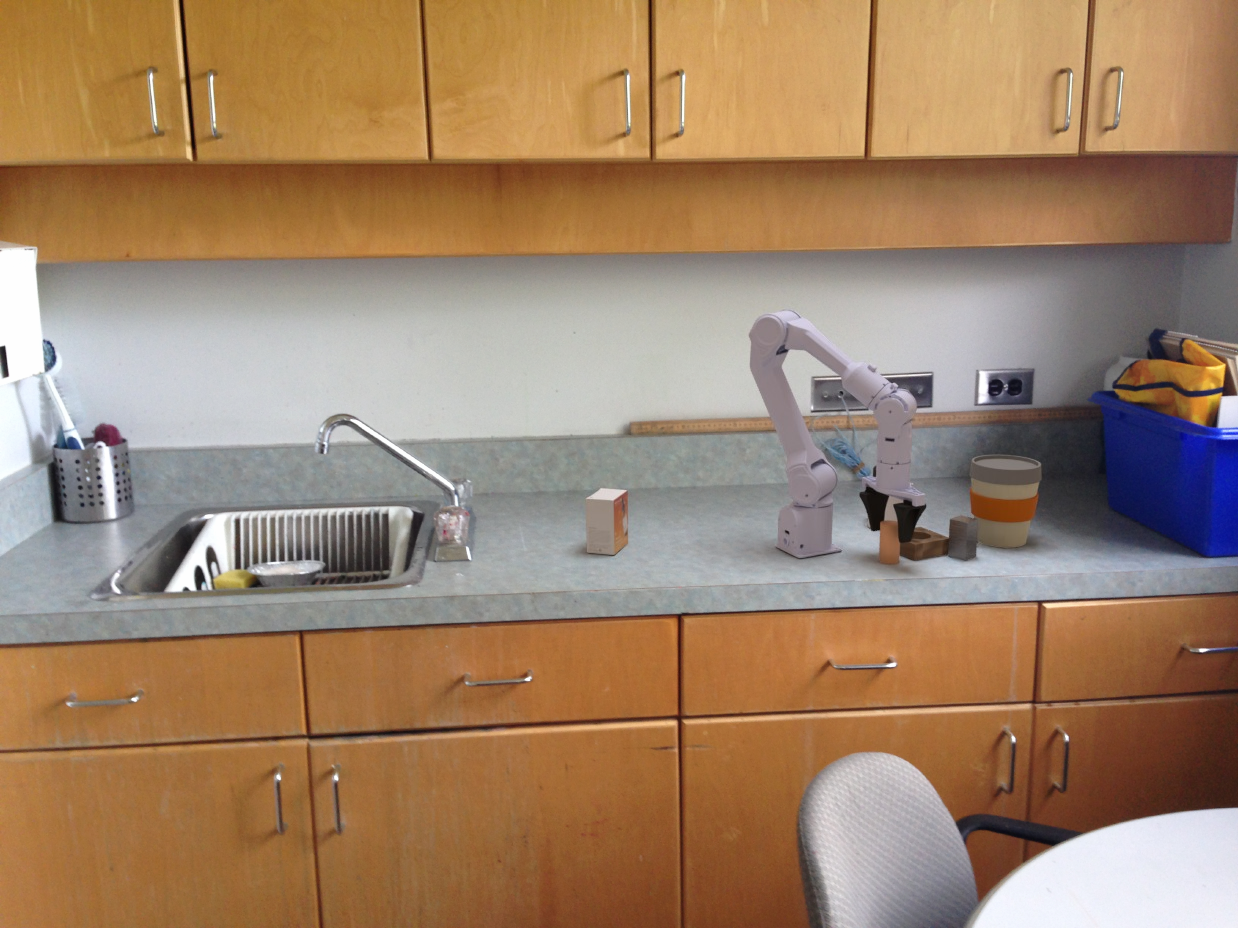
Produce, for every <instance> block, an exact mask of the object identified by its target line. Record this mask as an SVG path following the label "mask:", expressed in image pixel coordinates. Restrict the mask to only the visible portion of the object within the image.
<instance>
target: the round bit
mask: <svg viewBox="0 0 1238 928" xmlns="http://www.w3.org/2000/svg"><path fill="white" fill-rule="evenodd" d="M878 544H879V547H878V551H879V552H878V562H879V563H881V564H883V565H884V564H885V565H897V564H899V563H900V556H901V555H900V542H899V539H898V522H897V521H892V520H886V521H882V522H880V531H879V543H878Z"/></svg>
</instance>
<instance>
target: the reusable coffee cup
mask: <svg viewBox="0 0 1238 928" xmlns="http://www.w3.org/2000/svg"><path fill="white" fill-rule="evenodd" d="M968 476H969V477H970V480H971V487H970V488H969V499H970V501H969V502H970V513H971V514H972V515H973V518H976V519H979V521H978V536H977V543H980V544H982V545H985V546H988V547H989V546H990V547H997V548H1008V549H1009V548H1018V547H1022V546H1024V545H1026V544H1027V539H1028V534H1029V529H1030V525H1031V521H1032V520H1033V519H1034V517H1035V515H1036V514H1035V513H1036V510H1037V509H1036V508H1037V504H1038V500H1039V497H1040V495H1039V492H1038V489H1039V485H1040V482H1041V481H1042V479H1043V478H1042V463H1041V462H1040V461H1038V460H1036V459H1034V458H1030V457H1026V456H1018V455H1010V454H985V455H978V456H974V457H973V458H971V462H970V467H969V473H968Z"/></svg>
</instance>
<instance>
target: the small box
mask: <svg viewBox="0 0 1238 928" xmlns="http://www.w3.org/2000/svg"><path fill="white" fill-rule="evenodd" d="M628 494H629V493H628V490H626V489H616V488H604V487H601V488H599V489H598V490H596V491H595V492H594V493H592V494H591V495H590V496H588V497H585V529H586V530H585V531H586V534H585V535H586V553H587V554H599V555H608V556H609V555H610V556H615V555H616V554H617V553H618V552H619V551H620V550H621V549H623V548H624V547H626V546H627V545H628V544H629V503H628V502H629V500H628V499H629V498H628V496H629V495H628Z"/></svg>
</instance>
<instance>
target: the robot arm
mask: <svg viewBox="0 0 1238 928" xmlns="http://www.w3.org/2000/svg"><path fill="white" fill-rule="evenodd" d="M748 338H749V340H750V355H749V356H750V357H749V369H750V372H751V374H752V377H753V379H754V381H755V384H756V387H757V389H758V391H759V394H760V396H761V398H762V401H763V403H764V406H765V407H766V410H767V413H768V414H769V418H770V421H771V423H772V424H773V427H774V429H775V431H776V434H777V436H778V438H779V441H780V443H781V446H782V448H783V450H784V453H785V456H786V463H785V464H786V465H785V470H784V471H785V474H786V477H787V479H788V482H787V483H788V484H787V489H788V493H789V496H790V497H791V499H792V502H791V503H790V504H788V505H784V506H782V508H781V509H780V510H779V513H778V518H777V521H778V523H777V543H775V547H776V548H778V549H779V550H782V551H783V552H786V553H787V554H789V555H792V556H793V557H796V558H798V559H804V558H810V557H814V556H820V555H825V554H831V553H836V552H841V551H842V550H843V548H842V547H840V546H838V545H836V544H833V519H834V518H833V517H834V499H833V492H834V491H835V490H836V488H837V486H838V484H839V474H838V472H837V470H836V468H835V467H834V466H833V465H832V464H831V463H830V462H829V461H828V460H827V458H826V455H825V453H824V452H823V451H822V450H821V449H819V448H818V447H817V446H816V445H815V443H814V441H813V438H812V436H811V434H810V432H809V428H808V426H807V424H806V422H805V420H804V417H803V414H802V413H801V410H800V408H799V405H798V403H797V401H796V398H795V396H794V393H793V392H792V389H791V386H790V383H789V381H788V379H787V376H786V374H785V372H784V370H783V364H784V362H785V361H786V358H787V355H788V353H789V352H790V350H793V351H805V352H806V353H808V354H809V355H810V356H812V357H814V358H815V359H816V360H817V361H819V362H820V363H821V364H823V365H824V366H826V368H828V369H830V370H831V371H832V372H834V373H835V374H837V375H838V376H839V377H840V380H841V383H842V384H841V386H842V389H844V390H845V391H847V393H849V394H850V395H852V397H854V398H855V399H856V400H857V401H858V402H860V403H861V404H863V405H864V406H865V407H866V408H867V409H869V410H870V411H872V413H873V417H874V420H875V421H876V423H877V424H878V426H877V427H878V429H877V441H876V443H877V444H876V465H875V466H876V477H873V475H869V476H863V477H861V488H863V489H864V491H860V492H859V494H858V496H859V498H860V499H861V502H862V504H863V506H864V508H865V511H866V514H867V520H868V519H869V524H870V528H869V529H870V531H871V532H878V531H879V532H880V522H882V521H884V518H885V510H886V505H887V502H888V499H889V496H892V497H895V498H898V499H900V500H903V503H897V504H893V507H894V510H895V512H896V516H897V522H898V539H899V542H900V543H906V542H911V539H912V536H913V533H914V530H915V527H917V523H918V522H919V521H920V518H921V516H922V514H923V513H924V511H926V509H927V503H926V493H923V492H921V491H919V490H918V489H916V488H915V487H914V482H911V461H912V445H913V444H912V443H913V440H912V439H913V435H912V434H913V433H912V431H913V429H912V428H913V420H912V419H913V417H914V416H915V415H916V413H917V409H918V403H917V400H916V398H915V397H914V396H913V394H912V392H910V390H908V389H905V388H898V387H899V385H898V384H897V383H896V382H893V383H891V381H889V380H888V379H887V378H885V377H884V376H883V375H882V374H880V373H879V372H878V371H877V369H878V367H877V365H875V364H874V363H869V364H868V363H866V362H865V361H859V362H854V361H853V360H852V359H851V358H850V357H849V356H847V355H846V353H844V352H843V351H842V350H841V349H840V348H839V347H838V346H836V345H835V344H834V343H833V342H832V341H831V340H830V339H828V338H827V337H826V336H825V335H824V334H823V333H822V332H821V331H820V330H818V328H816V326H814V324H813V323H812V322H811V321H810V320H809V319H807V318H805V317H802V316H801V314H800V313H799V312H797V311H795V310H793V309H791V308H790V309H789V308H788V309H787V308H786V309H782V310H779V311H776V312H771V313H769V312H767V313H763V314H762V315H759V316H758V317H757V318H756V319H755V320H754V323H753V325H752V327H751V329H750V331H749V332H748Z"/></svg>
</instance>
